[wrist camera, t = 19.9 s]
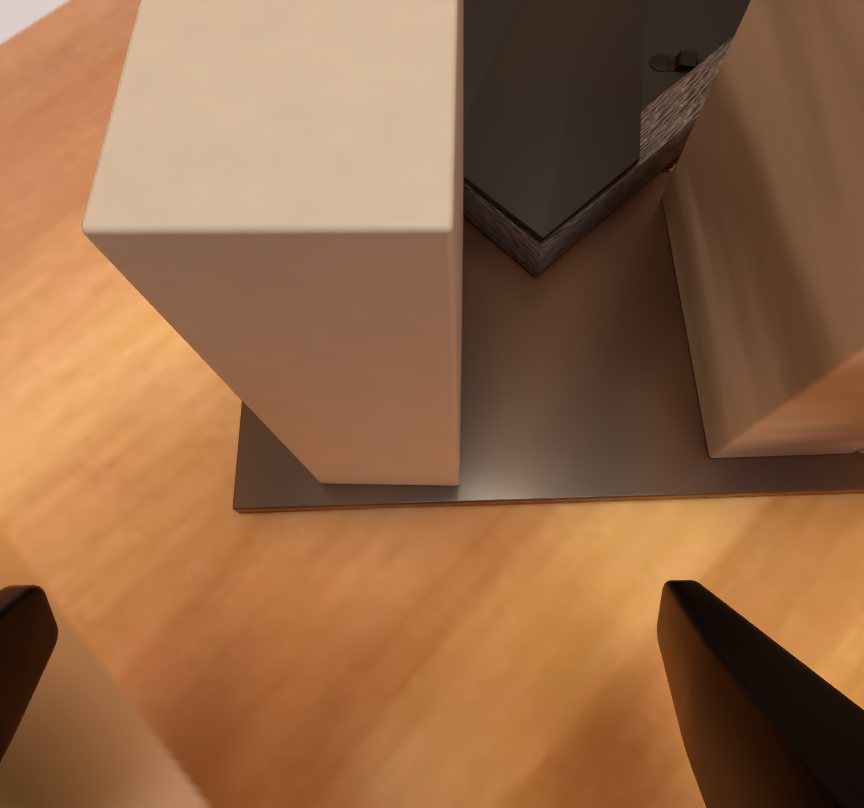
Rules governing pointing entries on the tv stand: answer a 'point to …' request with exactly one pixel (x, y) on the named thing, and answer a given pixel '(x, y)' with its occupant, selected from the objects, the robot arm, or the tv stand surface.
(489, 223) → the picture frame
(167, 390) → the tv stand surface
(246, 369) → the beige rectangular block
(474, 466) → the brown boxy structure
